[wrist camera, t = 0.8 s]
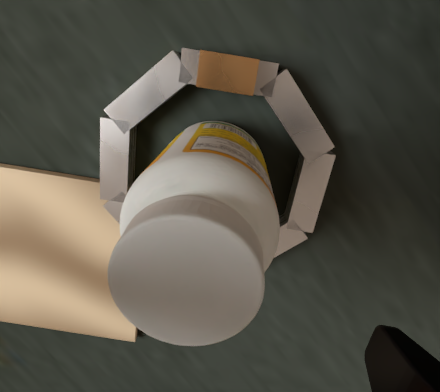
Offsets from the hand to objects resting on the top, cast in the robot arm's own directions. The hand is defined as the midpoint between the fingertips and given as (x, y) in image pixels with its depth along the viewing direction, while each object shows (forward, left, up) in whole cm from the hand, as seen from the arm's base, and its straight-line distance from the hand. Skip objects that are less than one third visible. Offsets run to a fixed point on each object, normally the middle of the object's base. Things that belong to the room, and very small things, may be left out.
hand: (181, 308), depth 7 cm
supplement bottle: (0, 0, -10) cm, 10 cm away
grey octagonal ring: (0, 0, -10) cm, 10 cm away
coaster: (-7, +9, -10) cm, 15 cm away
